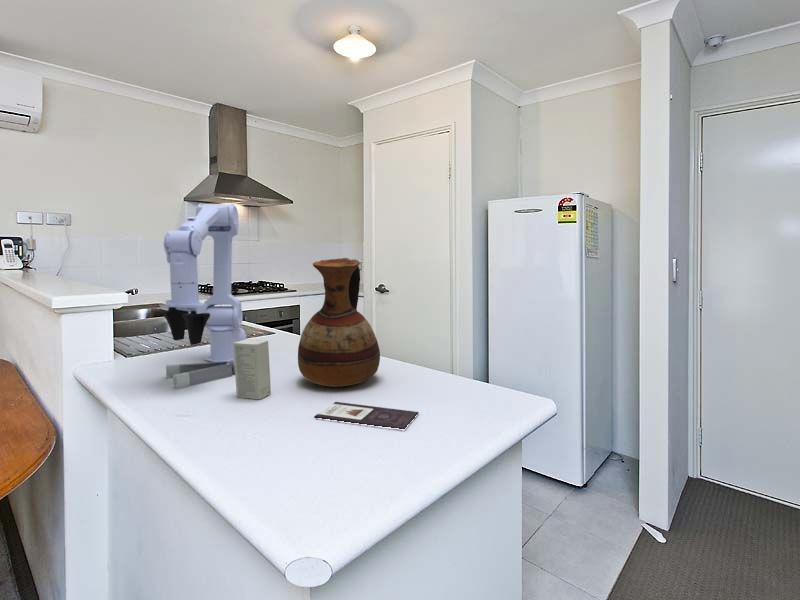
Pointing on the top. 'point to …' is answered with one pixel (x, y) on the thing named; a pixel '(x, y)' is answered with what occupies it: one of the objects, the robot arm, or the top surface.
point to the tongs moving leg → (202, 375)
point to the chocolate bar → (368, 415)
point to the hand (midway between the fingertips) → (187, 341)
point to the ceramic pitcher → (338, 331)
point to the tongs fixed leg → (194, 367)
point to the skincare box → (252, 368)
